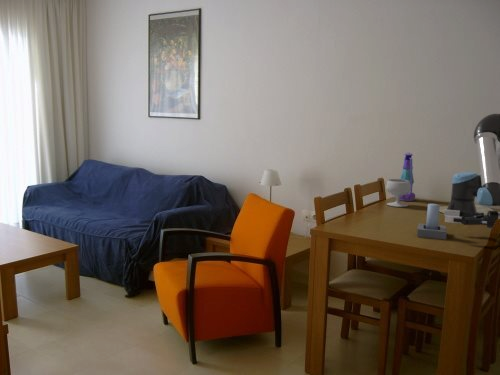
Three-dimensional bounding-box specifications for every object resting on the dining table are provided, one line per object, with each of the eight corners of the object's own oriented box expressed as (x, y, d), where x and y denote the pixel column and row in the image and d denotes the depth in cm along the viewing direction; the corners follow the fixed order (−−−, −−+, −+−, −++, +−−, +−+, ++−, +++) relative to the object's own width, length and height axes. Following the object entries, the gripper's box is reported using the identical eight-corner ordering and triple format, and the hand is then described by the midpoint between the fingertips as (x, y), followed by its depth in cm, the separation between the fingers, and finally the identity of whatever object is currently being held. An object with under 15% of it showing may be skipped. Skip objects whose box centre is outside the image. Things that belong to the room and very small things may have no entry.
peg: (437, 234, 216) (439, 204, 214) (437, 236, 212) (439, 206, 209) (425, 233, 218) (427, 203, 216) (425, 235, 213) (427, 205, 211)
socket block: (444, 233, 218) (445, 225, 218) (446, 239, 207) (446, 231, 207) (417, 230, 222) (417, 223, 222) (417, 236, 211) (417, 229, 211)
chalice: (380, 204, 283) (381, 179, 280) (394, 202, 291) (396, 178, 288) (400, 208, 272) (401, 182, 269) (414, 206, 280) (416, 181, 277)
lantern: (419, 201, 294) (422, 153, 289) (401, 202, 292) (405, 153, 287) (409, 197, 307) (412, 151, 302) (392, 198, 305) (395, 151, 300)
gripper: (500, 235, 193) (444, 230, 201) (493, 222, 216) (443, 217, 224) (502, 217, 192) (446, 212, 199) (494, 206, 215) (444, 202, 222)
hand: (444, 215), depth 211 cm, fingers open, 13 cm apart
